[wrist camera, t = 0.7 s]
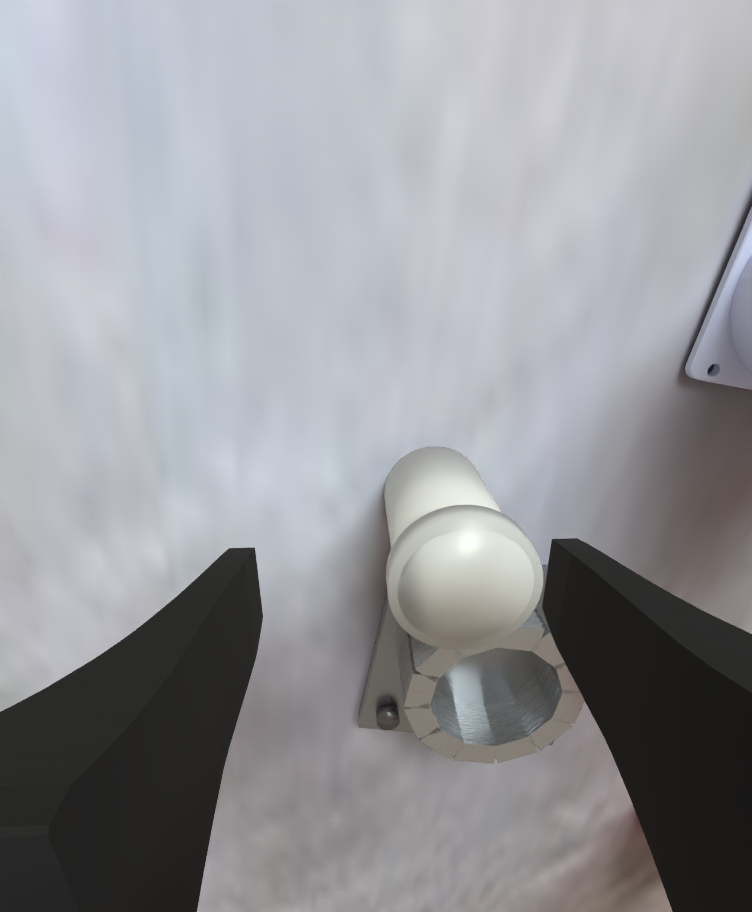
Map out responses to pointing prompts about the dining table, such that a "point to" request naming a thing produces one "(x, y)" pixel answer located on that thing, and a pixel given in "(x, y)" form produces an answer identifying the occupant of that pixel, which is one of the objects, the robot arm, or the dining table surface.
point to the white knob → (455, 554)
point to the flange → (472, 691)
